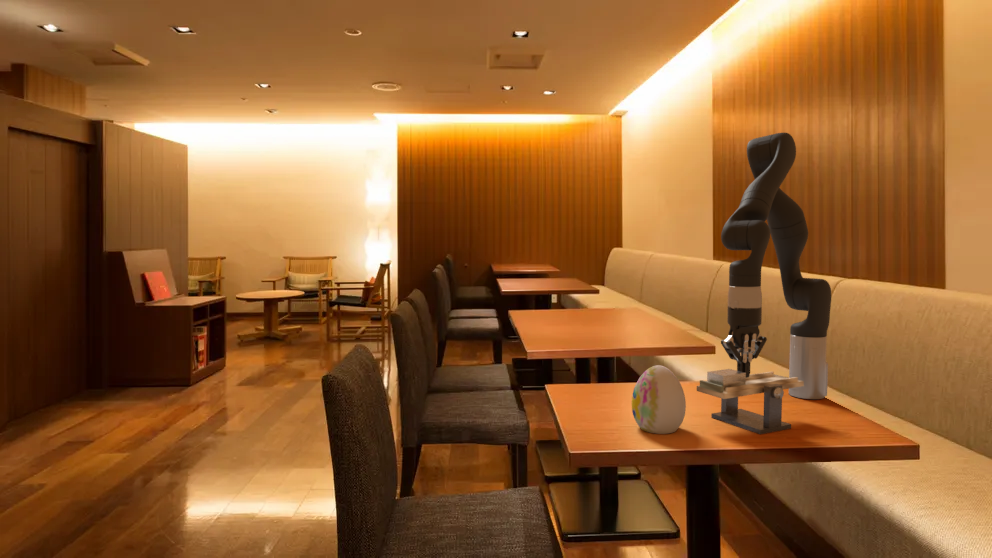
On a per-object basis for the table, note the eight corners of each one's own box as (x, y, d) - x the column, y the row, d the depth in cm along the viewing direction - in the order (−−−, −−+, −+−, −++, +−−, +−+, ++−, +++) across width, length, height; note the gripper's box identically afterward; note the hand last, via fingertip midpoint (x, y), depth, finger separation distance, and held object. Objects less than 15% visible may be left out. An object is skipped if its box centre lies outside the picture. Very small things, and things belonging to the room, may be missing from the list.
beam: (770, 379, 161) (771, 367, 161) (807, 388, 152) (807, 375, 151) (693, 391, 150) (693, 378, 150) (727, 401, 141) (727, 388, 140)
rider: (729, 383, 152) (729, 368, 151) (745, 387, 147) (745, 372, 147) (707, 386, 149) (707, 371, 148) (723, 390, 144) (723, 375, 144)
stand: (738, 411, 161) (739, 371, 160) (793, 429, 146) (795, 384, 145) (709, 416, 157) (709, 375, 156) (763, 435, 142) (764, 389, 141)
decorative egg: (627, 421, 153) (627, 360, 152) (677, 421, 153) (678, 360, 152) (636, 436, 141) (637, 371, 140) (691, 437, 141) (692, 371, 140)
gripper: (752, 301, 155) (751, 371, 156) (711, 305, 149) (710, 377, 150) (777, 304, 148) (776, 377, 149) (736, 308, 142) (735, 383, 143)
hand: (743, 377), depth 150 cm, fingers closed
